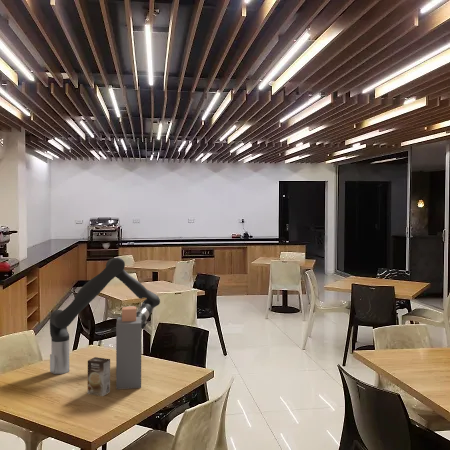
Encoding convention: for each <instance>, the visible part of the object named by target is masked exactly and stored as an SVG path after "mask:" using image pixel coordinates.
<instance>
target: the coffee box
mask: <svg viewBox="0 0 450 450" xmlns="http://www.w3.org/2000/svg"><path fill="white" fill-rule="evenodd" d="M110 392H111V358H105V357H104V358H103V357H97V356H95V357H94V356H93V358H90V359H89V360H87V394H88V395H92V396H99V397H104V396H106V395H107V394H109V393H110Z"/></svg>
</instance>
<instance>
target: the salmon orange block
mask: <svg viewBox="0 0 450 450" xmlns="http://www.w3.org/2000/svg"><path fill="white" fill-rule="evenodd" d="M136 312H137V306H133V305H130V306H122V309H121V317H122V321H136Z"/></svg>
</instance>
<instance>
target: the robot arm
mask: <svg viewBox="0 0 450 450" xmlns="http://www.w3.org/2000/svg"><path fill="white" fill-rule="evenodd" d="M125 262H126V261H124V259H123V258H120V257H113V258H110V259H108V260H107V261H106V262H105V263H106V264H105V268H104V269H102V271H101V272H100V273H98V274H97V275H94V277H92V278H91V279H90V280H88V281H87V282H86V283H84V285H82V287H81V288H80V289H79V290H78V292H77V293H76V294H75V296H74V299H73V300H72V301H71V303H70V304H69V305H68V306H66V307H65V308H64V309H63V310H62V309H56V310H54V311H52V313H51V314H50V317H49V334H50V339H51V354H49V372H50V373H51V374H53V375H62V374H66V373H69V372H70V334H69V331H68V327H69V326H70V325H71V324H72V323H73V321H74V320H75V318H77V316H78V315H79V314H80V313H81V312H82V311H83V310H84V309H85V308H86V307H87V306H88V305H89V304H90V303H91V302H92V301H93V300H95V298H96V297H97V296H98V295H99V294H100V293H101V292H102V291H103V290H104V289H105V287H106V286H107V285H109V283H110V282H111V281H112V280H114V278H116V279H118V280H119V281H120V282H122V283H123V284H124V285H125V286H126V287H127V288H128V289H129V290H130V291H131V293H133V294H134V295H135V296H136V297H137V298H138V299H140V300H142V299H144V300H143V301H142V302H141V306H140V307H139V308H138V309H136V317H141V330H143V329H145V327H146V326H147V324H148V321H147V320H148V318H149V316H150V315H151V314H152V312H153V309H154V308H156V307H157V306H159V305H160V303H161V299H160V297H159V295H157V294H156V293H155V292H152V291H151V290H149V289H148V288H146V287H145V286H144V285H143V283H142V282H140V281H139V280H137V279H136V278H135V277H133V276H132V275H130V274H129V273H128V272H127V271H126V270H125V266H126V265H125Z"/></svg>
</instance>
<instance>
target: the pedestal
mask: <svg viewBox="0 0 450 450" xmlns="http://www.w3.org/2000/svg"><path fill="white" fill-rule="evenodd" d="M115 328H116V329H115V331H116V333H115V337H116V339H115V341H116V343H115V345H116V348H115V349H116V350H115V354H116V356H115V357H116V360H115V361H116V362H115V363H116V364H115V366H116V367H115V371H116V372H115V375H116V376H115V377H116V380H115V381H116V382H115V383H116V390H123V389H124V390H125V389H126V390H127V389H129V390H130V389H131V390H132V389H141V388H142V328H141V317H136V321H122V316H120V317H117V320H116V325H115Z"/></svg>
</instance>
